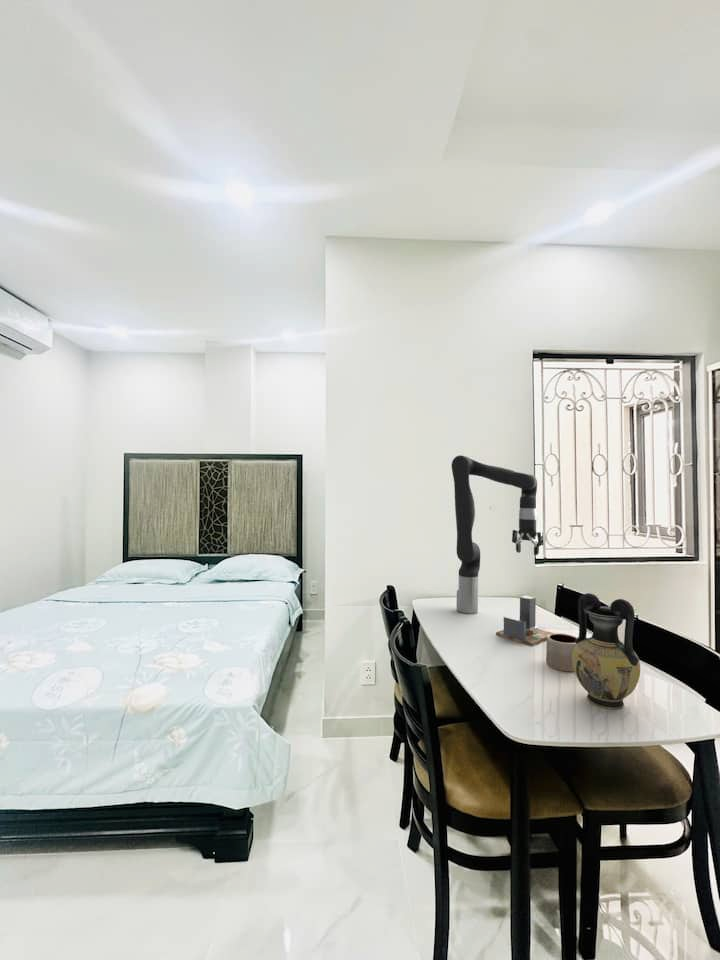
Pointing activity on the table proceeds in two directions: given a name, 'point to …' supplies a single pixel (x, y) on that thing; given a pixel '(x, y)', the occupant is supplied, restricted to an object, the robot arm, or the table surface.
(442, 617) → the table surface
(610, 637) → the amphora
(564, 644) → the planter
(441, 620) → the table surface
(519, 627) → the grey rectangular panel
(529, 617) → the block
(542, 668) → the table surface
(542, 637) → the mottled brown square slab
